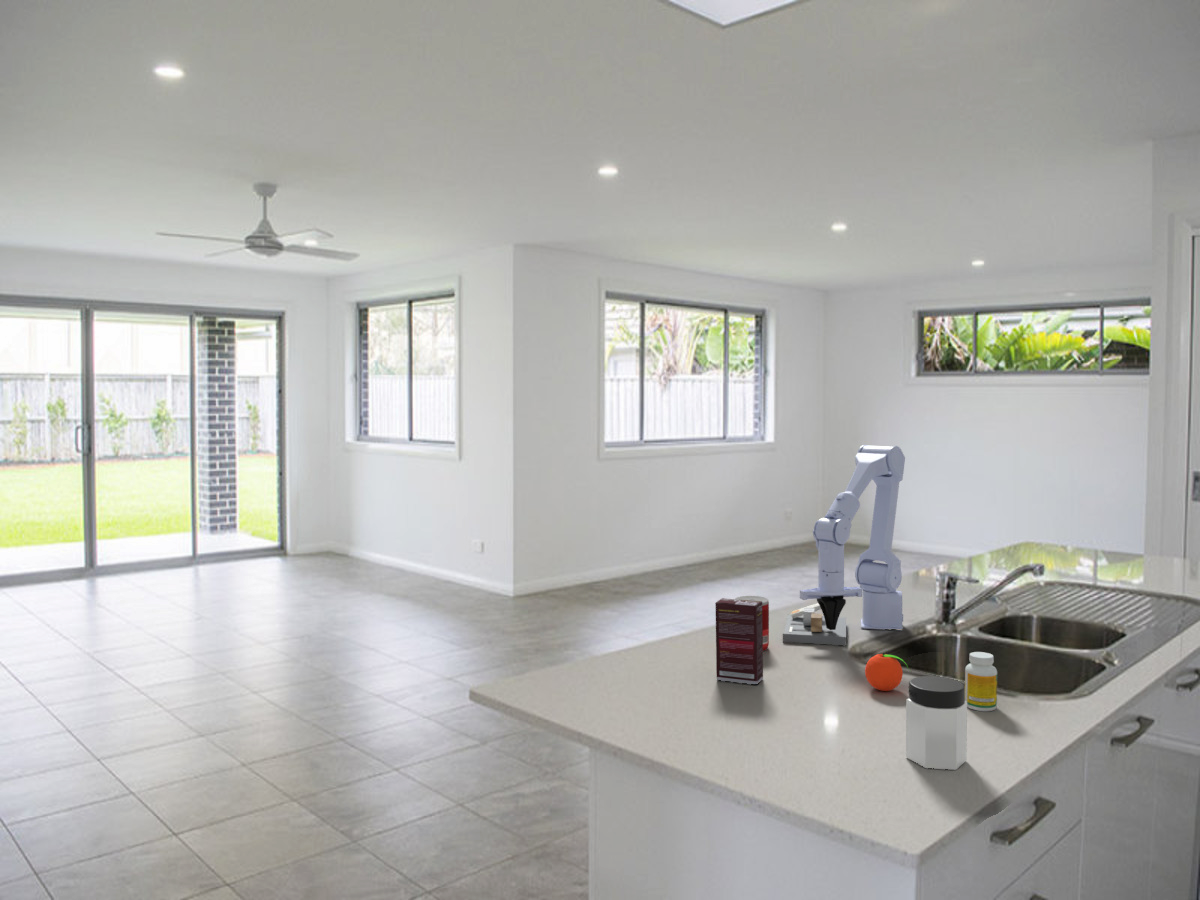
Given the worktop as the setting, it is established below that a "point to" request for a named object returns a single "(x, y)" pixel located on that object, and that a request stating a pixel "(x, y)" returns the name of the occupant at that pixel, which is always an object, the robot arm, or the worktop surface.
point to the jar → (936, 722)
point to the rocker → (800, 611)
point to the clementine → (884, 672)
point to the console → (803, 634)
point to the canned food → (764, 616)
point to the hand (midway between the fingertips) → (830, 628)
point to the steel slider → (807, 615)
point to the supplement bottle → (981, 682)
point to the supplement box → (739, 641)
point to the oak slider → (816, 622)
